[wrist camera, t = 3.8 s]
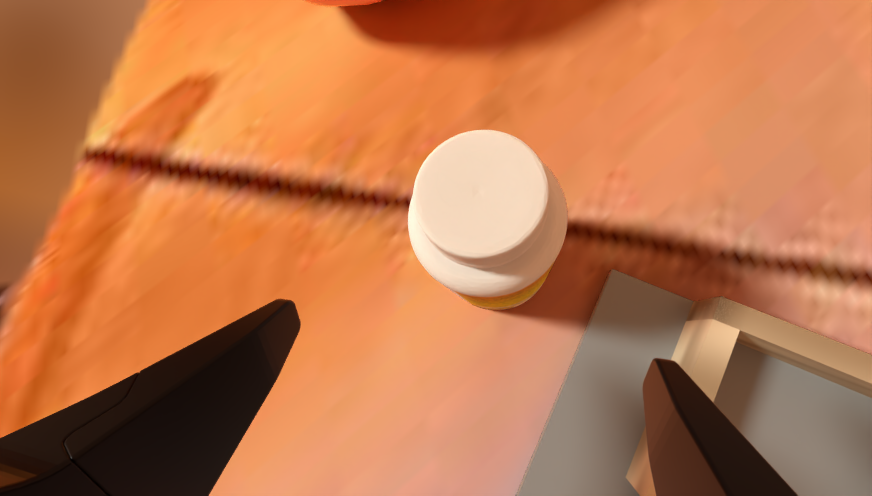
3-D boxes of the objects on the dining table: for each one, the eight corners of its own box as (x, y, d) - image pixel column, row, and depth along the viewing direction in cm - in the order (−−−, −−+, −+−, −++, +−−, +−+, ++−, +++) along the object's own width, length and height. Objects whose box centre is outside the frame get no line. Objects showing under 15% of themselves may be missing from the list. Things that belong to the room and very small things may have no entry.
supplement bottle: (570, 250, 20) (625, 170, 10) (504, 333, 20) (494, 332, 10) (487, 190, 22) (465, 72, 12) (424, 266, 21) (349, 210, 12)
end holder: (882, 616, 14) (956, 672, 12) (625, 477, 17) (643, 500, 15) (945, 402, 15) (1025, 414, 13) (693, 301, 18) (721, 296, 15)
